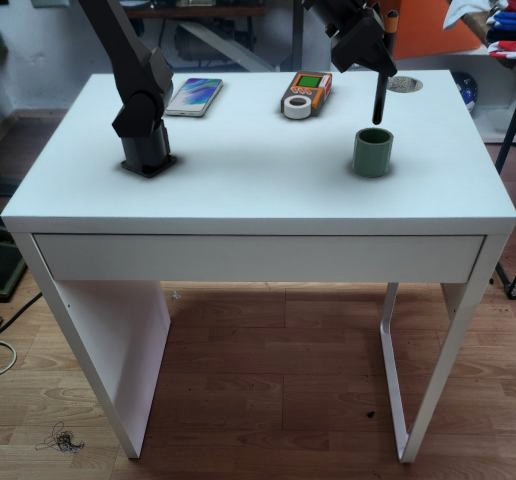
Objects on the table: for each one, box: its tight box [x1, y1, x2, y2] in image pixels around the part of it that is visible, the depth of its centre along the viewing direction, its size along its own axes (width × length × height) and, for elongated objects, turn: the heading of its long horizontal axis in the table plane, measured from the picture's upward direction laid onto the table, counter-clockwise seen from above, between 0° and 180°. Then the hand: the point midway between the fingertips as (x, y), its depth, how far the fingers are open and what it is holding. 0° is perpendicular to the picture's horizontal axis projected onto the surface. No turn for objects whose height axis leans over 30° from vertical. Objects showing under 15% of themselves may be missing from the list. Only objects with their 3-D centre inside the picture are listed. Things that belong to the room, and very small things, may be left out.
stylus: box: [371, 9, 400, 126], centre depth 66 cm, size 2×2×14 cm
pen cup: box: [351, 126, 395, 178], centre depth 74 cm, size 5×5×5 cm
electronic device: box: [280, 69, 333, 120], centre depth 91 cm, size 7×3×15 cm
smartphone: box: [164, 77, 224, 117], centre depth 94 cm, size 7×1×15 cm
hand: (394, 72), depth 66 cm, fingers closed on stylus, 1 cm apart
